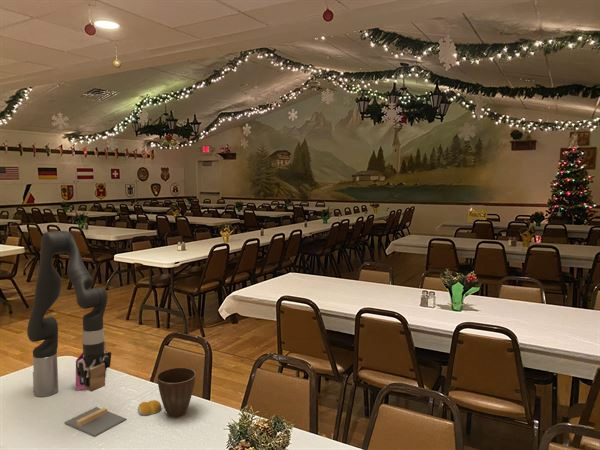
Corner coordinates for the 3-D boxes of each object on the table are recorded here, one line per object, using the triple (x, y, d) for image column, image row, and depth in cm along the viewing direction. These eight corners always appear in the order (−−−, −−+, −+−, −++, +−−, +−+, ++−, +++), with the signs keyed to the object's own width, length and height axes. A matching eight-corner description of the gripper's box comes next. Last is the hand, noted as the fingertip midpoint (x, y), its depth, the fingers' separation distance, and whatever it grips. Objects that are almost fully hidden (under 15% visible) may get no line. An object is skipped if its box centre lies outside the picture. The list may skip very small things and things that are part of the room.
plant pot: (203, 409, 187) (203, 372, 185) (177, 426, 174) (177, 386, 172) (176, 401, 194) (175, 364, 192) (149, 416, 181) (148, 377, 179)
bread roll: (163, 412, 185) (163, 402, 184) (140, 418, 180) (140, 408, 179) (157, 403, 192) (157, 394, 191) (135, 409, 187) (135, 400, 186)
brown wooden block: (84, 389, 173) (83, 366, 172) (98, 383, 178) (97, 361, 178) (91, 391, 171) (90, 368, 170) (105, 385, 176) (104, 363, 176)
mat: (64, 423, 174) (64, 417, 174) (96, 408, 187) (96, 402, 186) (94, 436, 166) (94, 430, 165) (126, 419, 178) (126, 414, 178)
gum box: (93, 391, 202) (92, 361, 201) (74, 392, 201) (73, 362, 200) (106, 369, 226) (106, 342, 224) (89, 370, 224) (89, 343, 223)
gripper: (103, 333, 181) (104, 374, 183) (69, 344, 169) (71, 387, 170) (116, 336, 178) (117, 378, 179) (82, 348, 165) (84, 392, 167)
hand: (94, 382), depth 175 cm, fingers closed on brown wooden block, 6 cm apart
